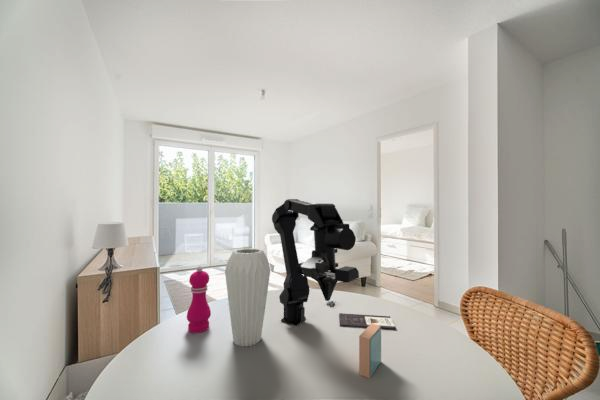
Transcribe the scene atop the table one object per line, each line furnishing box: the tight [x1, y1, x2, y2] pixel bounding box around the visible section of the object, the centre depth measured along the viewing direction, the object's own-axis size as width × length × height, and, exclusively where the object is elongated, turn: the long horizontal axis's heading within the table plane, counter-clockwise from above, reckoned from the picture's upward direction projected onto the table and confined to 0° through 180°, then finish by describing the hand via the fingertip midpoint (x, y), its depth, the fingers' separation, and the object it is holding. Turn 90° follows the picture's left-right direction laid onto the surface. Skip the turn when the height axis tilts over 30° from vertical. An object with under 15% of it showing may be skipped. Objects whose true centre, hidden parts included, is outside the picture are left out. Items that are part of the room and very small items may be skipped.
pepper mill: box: [186, 266, 212, 334], centre depth 83 cm, size 7×7×20 cm
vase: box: [224, 248, 271, 348], centre depth 77 cm, size 13×13×26 cm
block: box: [358, 324, 382, 379], centre depth 64 cm, size 3×8×9 cm, turn 144°
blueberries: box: [326, 300, 336, 308], centre depth 103 cm, size 7×8×2 cm
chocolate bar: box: [338, 312, 397, 331], centre depth 88 cm, size 9×1×18 cm
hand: (327, 300), depth 74 cm, fingers closed
